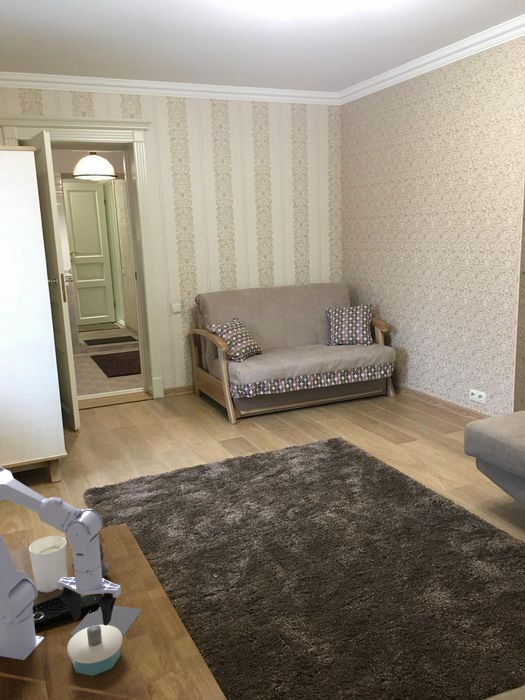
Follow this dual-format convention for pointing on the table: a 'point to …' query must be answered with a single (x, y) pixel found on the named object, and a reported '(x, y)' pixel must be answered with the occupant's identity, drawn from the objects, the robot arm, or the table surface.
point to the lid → (94, 644)
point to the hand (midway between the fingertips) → (92, 620)
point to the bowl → (96, 665)
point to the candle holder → (48, 562)
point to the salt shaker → (103, 564)
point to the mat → (119, 619)
